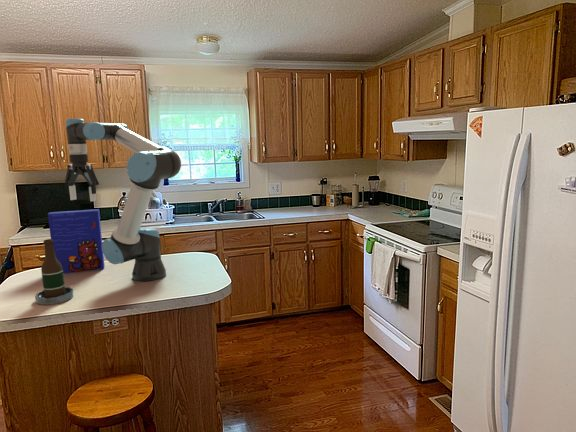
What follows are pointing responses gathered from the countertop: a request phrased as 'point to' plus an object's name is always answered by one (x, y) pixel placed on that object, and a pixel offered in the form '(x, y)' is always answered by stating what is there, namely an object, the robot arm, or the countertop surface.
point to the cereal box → (77, 240)
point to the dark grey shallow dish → (54, 300)
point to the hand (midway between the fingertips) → (83, 200)
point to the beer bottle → (52, 272)
